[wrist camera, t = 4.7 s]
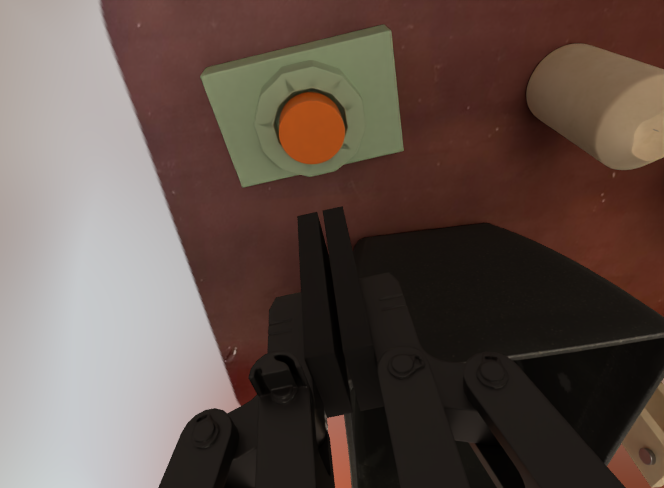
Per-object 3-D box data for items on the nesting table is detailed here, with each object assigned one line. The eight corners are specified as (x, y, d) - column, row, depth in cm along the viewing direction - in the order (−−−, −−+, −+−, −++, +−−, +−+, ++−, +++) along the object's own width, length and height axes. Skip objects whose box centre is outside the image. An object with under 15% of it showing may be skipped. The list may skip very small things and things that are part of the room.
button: (335, 85, 25) (338, 93, 24) (346, 145, 27) (350, 156, 26) (271, 100, 25) (270, 109, 24) (288, 159, 28) (288, 170, 26)
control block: (384, 23, 27) (398, 35, 23) (397, 139, 31) (410, 161, 28) (205, 67, 27) (194, 84, 24) (244, 174, 32) (240, 200, 29)
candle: (534, 46, 28) (633, 86, 20) (612, 38, 28) (741, 76, 20) (518, 124, 31) (598, 186, 23) (588, 117, 32) (691, 176, 24)
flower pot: (540, 183, 35) (703, 335, 21) (502, 333, 46) (593, 496, 32) (317, 209, 34) (338, 382, 21) (334, 354, 45) (355, 529, 32)
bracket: (573, 312, 45) (677, 445, 33) (648, 310, 46) (775, 438, 34) (538, 375, 51) (614, 505, 40) (604, 372, 52) (698, 498, 41)
